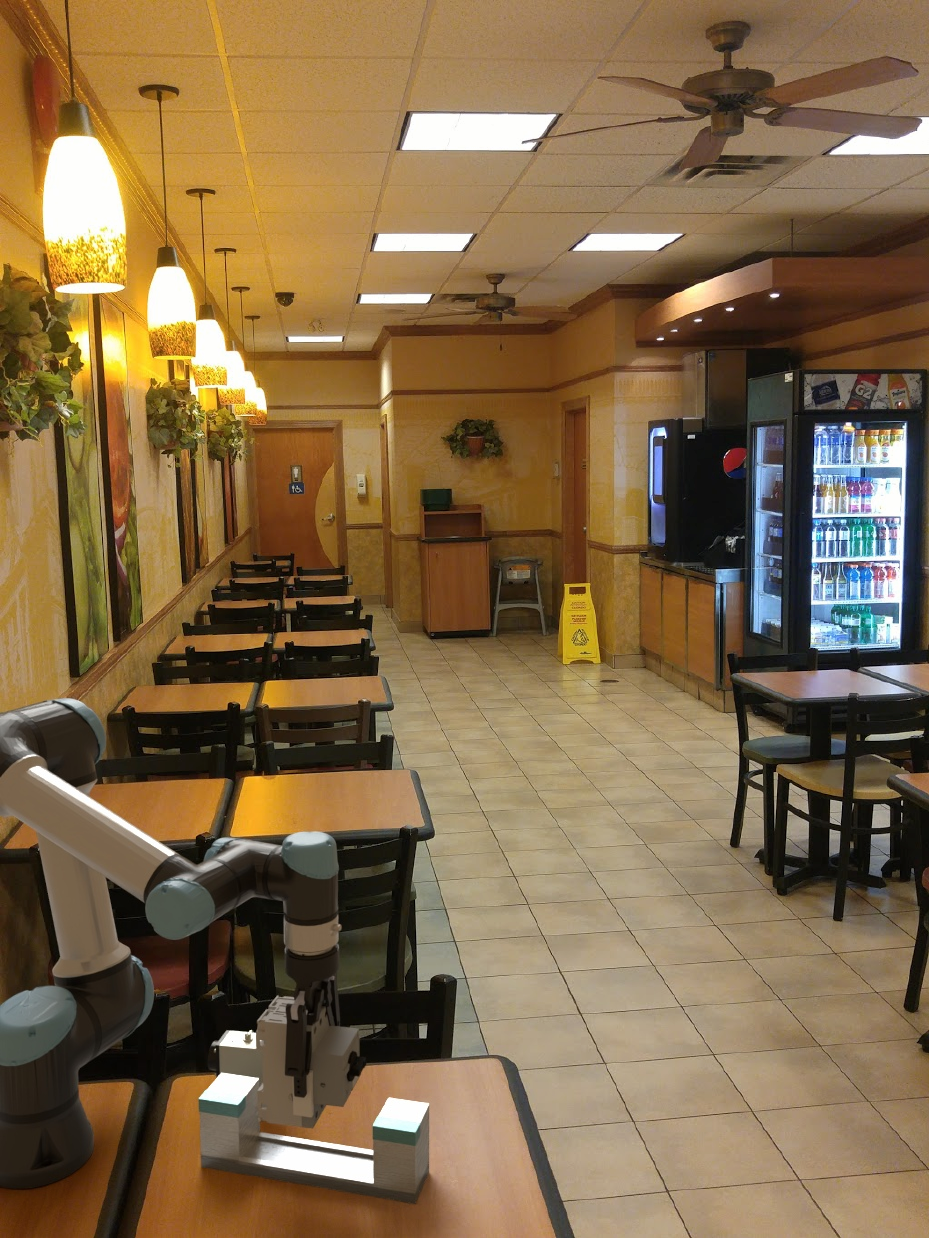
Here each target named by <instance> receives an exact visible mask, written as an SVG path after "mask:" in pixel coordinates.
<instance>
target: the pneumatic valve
mask: <svg viewBox="0 0 929 1238" xmlns="http://www.w3.org/2000/svg"><path fill="white" fill-rule="evenodd" d="M260 1041H261V1040H260ZM207 1055H208V1056H207V1067H208V1069H209V1071H215V1072H214V1076H215V1077H216V1079H217V1078H218V1076H219V1075H220V1074H221V1073H226V1074H233V1075H239V1076H246V1077H253V1078H259V1088H260V1086H261V1085H262V1083H263V1058H262V1050H258V1049H256V1032H254V1030H252V1029H251V1030H249V1031H239V1030H227V1029H226V1031H225V1032H224V1033H223V1034H222V1036H221V1037H220V1038H219V1040H214V1041H212V1043H211V1045H210V1048H209V1050H208V1054H207ZM216 1079H215V1080H216Z"/></svg>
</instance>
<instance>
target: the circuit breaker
mask: <svg viewBox="0 0 929 1238" xmlns="http://www.w3.org/2000/svg"><path fill="white" fill-rule="evenodd" d="M294 1002H295V999H294V996H286V995H284V996H282V997H281V996H279V995H276V997H275V998H274V999H273V1000H272V1001H271V1003H270V1004H269V1005H268V1009H267V1008H266V1009H265V1011H263V1013H262V1014H261V1015H260V1016H259V1018H258V1019H257V1020H256V1024H257V1029H256V1031H255V1033H256V1049H258V1050H262V1058H263V1083H262V1085H261V1086H260V1088H259V1089H258V1090H257V1106H258V1111H259V1118H258V1122H260V1123H261V1122H262V1121H263V1122H266V1123H267V1124H272V1125H280V1126H281V1125H283V1126H290V1127H298V1128H306V1129H314V1128H315V1126H316V1124H317V1123H318V1121H319V1119H320V1117H321V1115H322V1114H323V1112H324V1110H325V1109H326V1107H327V1106H331V1107H332V1106H333V1107H340V1108H343V1107H344V1106H345V1105H346V1103H347V1101H348V1100H349V1097H350V1095H351V1093H352V1091H353V1090H354V1088H355V1086H356V1085H357V1083H358V1081H359V1079H360V1076H361V1075H362V1072H363V1070H364V1069H365V1068H366V1066H367V1062H366V1061H367V1057H366V1056H360V1029H359V1028H355V1027H349V1026H348V1027H346V1026H329V1022H328V1017H327V1015H326V1016H325V1012H326V1007H325V1006H321V1009H320V1017H319V1020H318V1021H317V1022H316V1023H315V1024H313V1026H311V1025H307V1030H306V1031H311V1038H312V1055H311V1064H310V1070H313V1106H314V1115H313V1116H312V1118H311V1117H304V1116H298V1115H293V1078H292V1076H286V1075H285V1054H286V1029H287V1019H286V1005H287V1004H288V1003H290V1004H294ZM313 1014H314V1013H307V1015H312V1016H313ZM320 1019H321V1020H320ZM314 1028H315V1030H314ZM260 1040H261V1041H260Z"/></svg>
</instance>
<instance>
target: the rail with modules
mask: <svg viewBox="0 0 929 1238" xmlns="http://www.w3.org/2000/svg"><path fill="white" fill-rule="evenodd" d="M258 1089H259V1078H253V1077H246V1076H239V1075H233V1074H226V1073H221V1074H220V1075H219V1076H218V1078H217V1079H215V1080H214V1081H213V1082H212V1083H211V1084H210V1086H209V1087H208V1088H207V1089H205V1090H204V1092H203V1093H202V1094H201V1095H200V1097H198V1113H199V1135H200V1136H199V1138H200V1145H199V1146H200V1167H201V1168H202V1169H203V1168H204V1169H210V1170H215V1171H221V1172H227V1173H233V1174H238V1175H245V1176H251V1177H257V1178H262V1179H268V1180H273V1181H274V1180H275V1181H280V1182H285V1183H291V1184H292V1183H293V1184H297V1185H303V1186H308V1187H309V1186H310V1187H314V1188H319V1189H326V1190H332V1191H338V1192H343V1193H350V1194H356V1195H360V1196H366V1197H367V1196H368V1197H373V1198H379V1199H385V1200H390V1201H391V1200H392V1201H396V1202H402V1203H407V1204H414V1205H416V1203H417V1201H418V1198H419V1196H420V1194H421V1192H422V1189H423V1187H424V1185H425V1183H426V1181H427V1178H428V1175H429V1173H430V1103H429V1102H420V1101H414V1100H407V1099H402V1098H401V1099H400V1098H393V1097H388V1098H387V1100H386V1101H385V1104H384V1106H383V1107H382V1109H381V1111H380V1112H379V1114H378V1116H376V1119H375V1121H374V1122H373V1125H372V1149H368V1148H361V1147H355V1146H349V1145H343V1144H337V1143H330V1142H324V1141H323V1142H322V1141H319V1140H311V1139H306V1138H305V1139H304V1138H299V1137H293V1136H292V1137H291V1136H287V1135H286V1136H285V1135H280V1134H275V1133H274V1134H273V1133H268V1132H263V1131H261V1122H258V1118H259V1111H258V1106H257V1090H258Z"/></svg>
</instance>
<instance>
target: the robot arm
mask: <svg viewBox="0 0 929 1238" xmlns="http://www.w3.org/2000/svg"><path fill="white" fill-rule="evenodd" d="M106 746H107V736H106V731H105V728H104V725H103V723H102V721H101V719H100V717H99V716H98V715H97V714H96V713H95V711H94V710H93V709H92V708H90V707H88V706H87V705H86V704H85V703H84V702H82V701H80V700H78V699H75V698H69V697H64V698H63V697H62V698H54V699H46V700H42V701H39V702H36V703H32V704H29V705H25V706H21V707H18V708H15V709H10V710H8V711H4V712H2V711H1V712H0V817H2V818H8V817H12V816H13V817H14V818H16V819H17V820H19V821H20V822H22V823H24V824H25V825H26V826H28V827H29V828H31V829H32V830H34V831H35V833H36V838H37V844H38V849H39V855H40V858H41V864H42V870H43V875H44V879H45V880H44V881H45V883H46V891H47V893H48V894H47V895H48V899H49V900H48V901H49V905H50V909H51V915H52V916H51V917H52V920H53V925H54V931H55V936H56V941H57V946H58V951H59V956H60V957H59V959H58V961H57V962H56V963H55V964H54V966H53V967H52V976H53V982H54V985H43V986H36V987H34V988H33V989H32V990H28V989H26V990H23V991H20V992H18V993H16V994H15V995H13V996H11V997H9V998H7V999H6V1000H5V1001H4V1002H3V1003H2V1004H0V1187H2V1188H6V1189H14V1190H15V1189H16V1190H19V1189H23V1190H24V1189H31V1188H32V1189H33V1188H38V1187H42V1186H47V1185H50V1184H53V1183H56V1182H58V1181H60V1180H62V1179H64V1178H66V1177H68V1176H70V1175H72V1174H73V1173H75V1172H76V1171H78V1170H79V1169H80V1168H82V1167H83V1166H84V1165H85V1164H86V1163H87V1161H89V1159H90V1158H91V1156H92V1154H93V1151H94V1147H95V1146H94V1145H95V1140H94V1129H93V1126H92V1124H91V1122H90V1120H89V1118H88V1116H87V1114H86V1111H85V1109H84V1105H83V1103H82V1101H81V1097H80V1090H79V1089H80V1087H79V1070H80V1068H83V1067H84V1066H85V1065H86V1064H88V1063H89V1062H91V1061H92V1060H94V1059H96V1058H97V1057H99V1056H100V1055H101V1054H103V1053H104V1052H105V1051H107V1050H109V1049H110V1048H111V1047H113V1046H114V1045H115V1044H118V1042H120V1041H121V1040H125V1039H126V1038H128V1037H129V1036H131V1034H133V1032H135V1030H136V1029H137V1028H138V1027H140V1026H141V1025H142V1024H143V1023H144V1022H145V1021H146V1020H147V1018H148V1016H149V1015H150V1013H151V1011H152V1008H153V1004H154V998H155V989H154V988H155V986H154V982H153V977H152V976H151V973H150V971H149V969H148V968H147V967H143V963H144V962H142V960H140V958H138V957H136V956H135V955H132V952H131V949H130V947H129V946H127V945H125V944H123V943H122V942H120V941H119V940H118V933H117V929H116V924H115V923H116V922H115V919H114V914H113V909H112V904H111V899H110V893H109V889H108V883H107V879H108V880H110V881H111V882H113V884H115V885H117V886H119V887H120V888H122V889H123V890H125V891H126V892H127V893H129V894H131V895H132V896H134V897H135V898H136V899H138V900H140V901H141V902H143V903H144V904H145V907H144V908H145V916H146V919H147V921H148V923H149V924H151V926H152V927H153V930H154V932H155V933H157V935H159V936H161V937H162V938H164V939H167V940H174V941H175V940H177V941H178V940H181V939H185V938H187V937H190V936H191V935H193V934H196V933H197V932H200V931H202V930H204V929H205V928H207V927H208V926H209V925H210V924H211V923H213V922H214V921H216V920H217V919H219V918H220V917H222V916H223V915H226V913H228V912H230V911H233V910H234V909H236V908H237V907H239V906H240V905H243V903H245V902H247V901H248V900H250V899H251V898H259V899H265V900H266V899H267V900H272V901H273V900H274V901H282V902H283V903H282V906H283V943H284V945H285V948H284V972H285V974H286V975H287V976H288V977H289V978H290V979H292V980H293V981H294V982H295V988H294V993H293V997H294V999H295V1002H294V1004H290V1003H288V1004H287V1005H286V1019H287V1029H286V1054H285V1075H286V1076H292V1078H293V1115H298V1116H304V1117H311V1118H312V1116H313V1115H314V1106H313V1070H310V1064H311V1055H312V1038H311V1031H306V1030H307V1025H311V1026H313V1024H315V1023H316V1022H317V1021H318V1020H319V1017H320V1009H321V1006H325V1007H326V1012H325V1016H326V1015H327V1017H328V1022H329V1026H339V1027H341V1016H340V1015H341V1013H340V1002H339V1001H340V1000H339V988H338V971H339V969H340V945H339V943H338V942H339V932H340V931H342V928H343V927H342V924H340V923H339V904H338V903H339V901H338V899H339V897H338V896H339V895H338V894H339V893H338V892H339V871H340V867H339V862H338V849H337V843H336V840H335V838H334V837H333V836H332V835H330V834H328V833H326V832H322V831H314V830H313V831H298V832H295V833H291V834H290V835H287V836H286V837H285V838H284V839H283V842H282V844H276V843H270V842H263V841H258V840H252V839H248V838H247V837H246V838H245V837H221V838H218V839H216V840H214V842H213V843H212V844H211V847H210V848H209V849H207V850H206V852H205V855H204V858H203V861H202V862H200V863H198V864H196V863H194V862H192V861H191V860H189V859H188V858H186V857H184V856H183V855H181V854H179V853H178V852H176V851H175V850H173V849H171V848H170V847H168V845H167V846H166V844H163V843H162V842H161V841H159V840H158V839H156V838H154V837H153V836H152V835H150V834H148V833H147V832H145V831H144V830H142V829H140V828H139V827H137V826H135V825H134V824H132V822H129V821H128V820H127V819H125V818H123V817H121V815H119V814H117V813H116V812H115V811H112V810H111V809H110V808H107V806H105V805H103V804H102V803H100V802H98V800H95V799H93V798H92V797H91V794H90V793H91V791H92V789H93V788H94V786H95V785H96V783H97V782H98V775H97V769H96V764H98V762H99V761H100V760H101V759H102V758H103V755H104V754H103V753H104V752H105V750H106V748H107V747H106ZM307 1013H314V1014H313V1016H312V1015H307ZM320 1020H321V1019H320ZM314 1030H315V1028H314Z"/></svg>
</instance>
